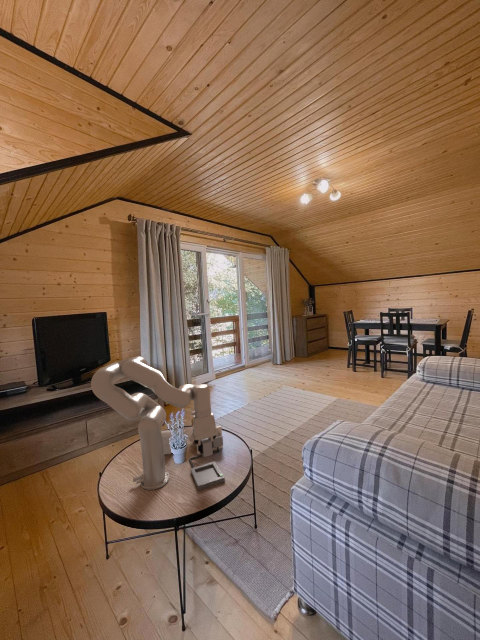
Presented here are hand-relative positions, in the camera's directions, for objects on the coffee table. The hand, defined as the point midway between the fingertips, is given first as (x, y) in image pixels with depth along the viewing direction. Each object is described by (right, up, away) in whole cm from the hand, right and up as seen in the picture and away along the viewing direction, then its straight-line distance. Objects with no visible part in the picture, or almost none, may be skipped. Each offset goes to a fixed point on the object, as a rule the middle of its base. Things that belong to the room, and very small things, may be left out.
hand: (205, 450), depth 123 cm
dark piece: (-1, -12, +14) cm, 18 cm away
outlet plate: (0, -11, +21) cm, 24 cm away
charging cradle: (+1, -13, +1) cm, 13 cm away
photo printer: (-25, -13, +24) cm, 36 cm away
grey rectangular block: (0, -1, 0) cm, 1 cm away
